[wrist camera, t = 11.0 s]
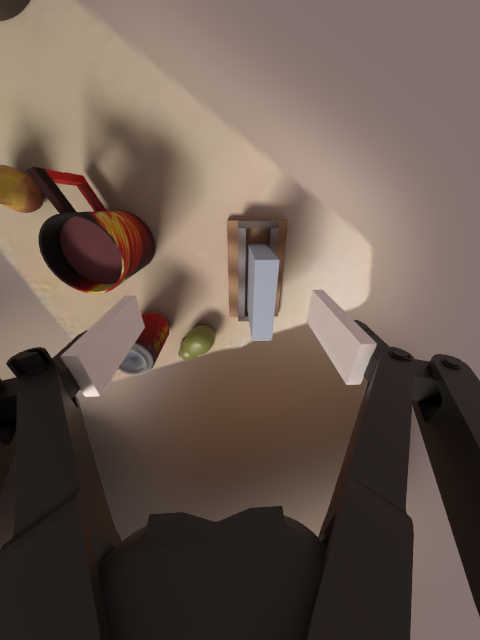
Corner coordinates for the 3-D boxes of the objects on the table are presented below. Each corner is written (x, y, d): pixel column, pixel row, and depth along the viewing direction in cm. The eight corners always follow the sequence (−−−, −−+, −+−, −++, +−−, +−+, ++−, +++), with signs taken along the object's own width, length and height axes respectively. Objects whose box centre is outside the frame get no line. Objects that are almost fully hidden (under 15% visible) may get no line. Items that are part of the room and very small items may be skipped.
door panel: (248, 243, 35) (255, 259, 25) (265, 243, 35) (279, 259, 25) (246, 306, 41) (252, 340, 31) (261, 306, 41) (271, 340, 31)
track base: (227, 220, 34) (226, 221, 32) (286, 220, 35) (290, 221, 32) (229, 314, 43) (229, 321, 41) (276, 314, 43) (279, 320, 41)
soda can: (130, 318, 43) (96, 356, 32) (157, 303, 41) (132, 338, 31) (152, 342, 46) (128, 384, 35) (178, 329, 45) (161, 368, 34)
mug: (85, 174, 31) (9, 158, 20) (165, 238, 36) (138, 252, 25) (62, 227, 34) (-13, 237, 24) (138, 279, 39) (104, 306, 28)
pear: (218, 347, 40) (190, 370, 45) (222, 330, 45) (196, 352, 50) (195, 332, 38) (168, 357, 43) (201, 315, 43) (176, 340, 48)
